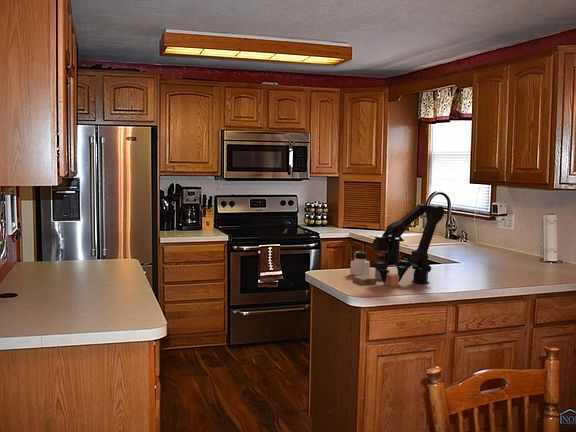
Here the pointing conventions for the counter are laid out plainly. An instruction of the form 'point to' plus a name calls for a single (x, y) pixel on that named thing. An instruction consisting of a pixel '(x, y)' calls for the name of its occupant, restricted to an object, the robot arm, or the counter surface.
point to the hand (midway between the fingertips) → (391, 282)
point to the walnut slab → (364, 280)
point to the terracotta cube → (392, 279)
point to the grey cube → (377, 274)
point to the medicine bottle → (360, 265)
